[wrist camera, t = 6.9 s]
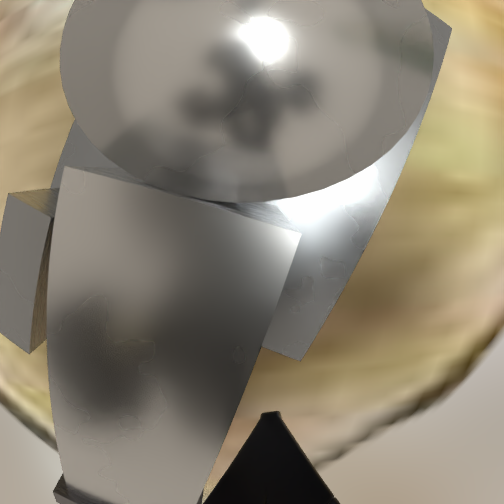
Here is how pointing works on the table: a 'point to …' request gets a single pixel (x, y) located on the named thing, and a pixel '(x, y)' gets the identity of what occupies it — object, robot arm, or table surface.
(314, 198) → the base
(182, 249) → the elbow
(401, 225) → the table surface
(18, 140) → the table surface
